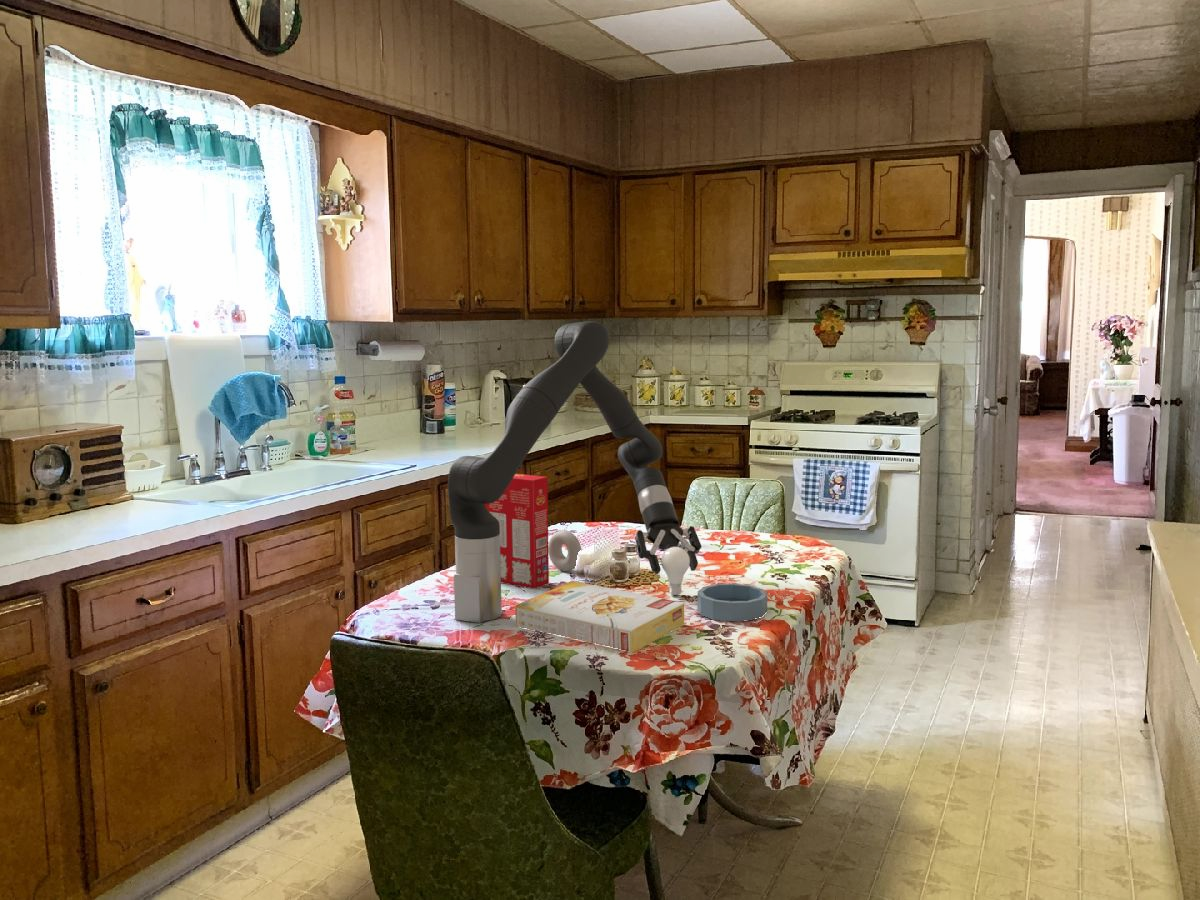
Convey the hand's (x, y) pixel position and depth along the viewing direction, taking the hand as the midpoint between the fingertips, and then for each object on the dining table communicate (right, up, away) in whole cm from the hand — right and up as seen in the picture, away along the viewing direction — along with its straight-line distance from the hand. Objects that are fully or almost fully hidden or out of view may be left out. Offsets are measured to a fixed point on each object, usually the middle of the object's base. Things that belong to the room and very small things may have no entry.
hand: (676, 570), depth 221 cm
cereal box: (-17, -9, -19) cm, 27 cm away
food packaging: (-36, -4, +14) cm, 39 cm away
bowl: (+11, -7, -10) cm, 17 cm away
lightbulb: (0, -6, +1) cm, 6 cm away
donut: (-25, -3, +23) cm, 34 cm away
